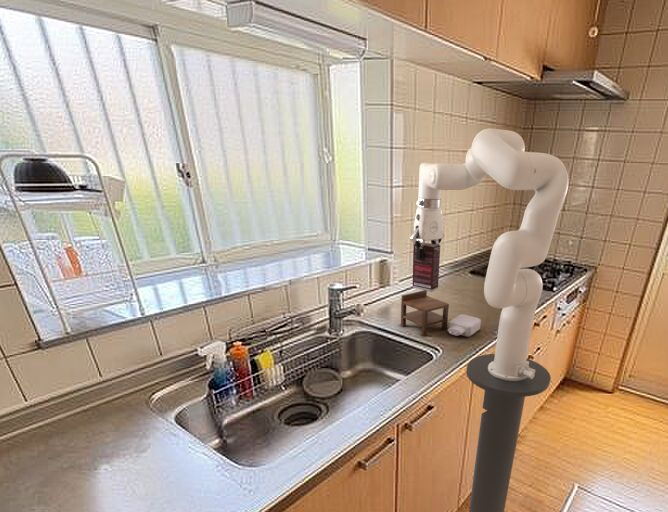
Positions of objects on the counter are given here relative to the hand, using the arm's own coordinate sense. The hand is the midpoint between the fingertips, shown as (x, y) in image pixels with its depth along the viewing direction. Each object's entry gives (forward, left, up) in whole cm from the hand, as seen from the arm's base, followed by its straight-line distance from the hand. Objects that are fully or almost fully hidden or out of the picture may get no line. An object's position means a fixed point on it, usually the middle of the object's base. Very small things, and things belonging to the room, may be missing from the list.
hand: (426, 258), depth 147 cm
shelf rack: (0, 0, -26) cm, 26 cm away
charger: (-13, -7, -26) cm, 30 cm away
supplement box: (0, 0, -11) cm, 11 cm away
